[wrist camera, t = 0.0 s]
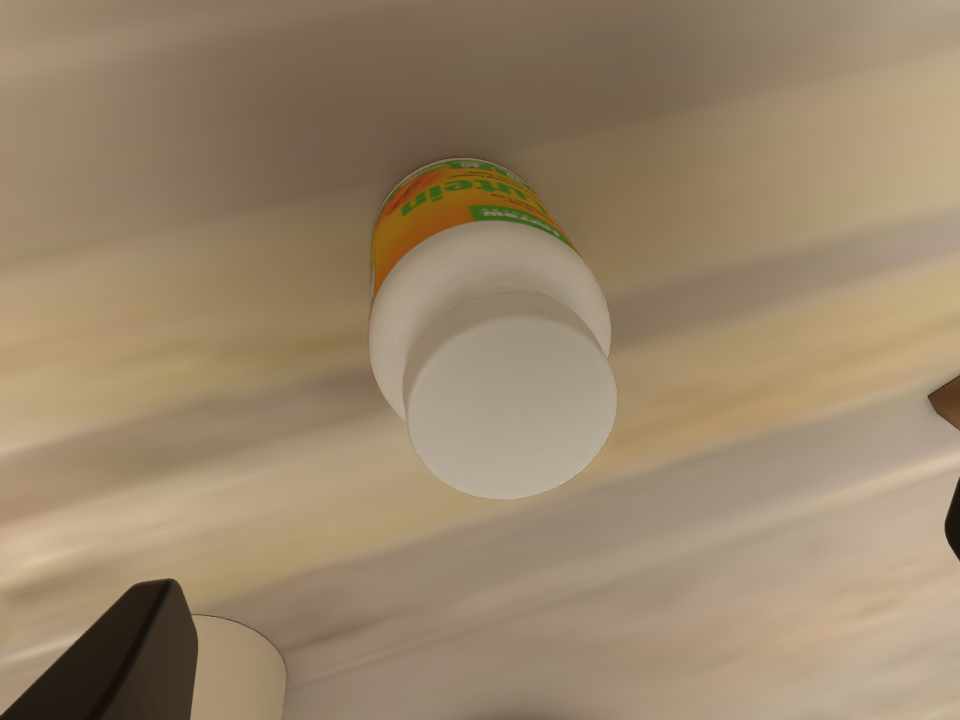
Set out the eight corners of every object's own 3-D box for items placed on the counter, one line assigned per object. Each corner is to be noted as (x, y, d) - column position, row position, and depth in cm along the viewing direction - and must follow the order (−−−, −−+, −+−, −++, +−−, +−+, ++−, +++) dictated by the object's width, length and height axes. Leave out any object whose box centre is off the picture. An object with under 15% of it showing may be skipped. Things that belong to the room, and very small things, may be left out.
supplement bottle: (544, 144, 21) (663, 260, 12) (550, 313, 23) (652, 508, 15) (356, 164, 20) (342, 299, 12) (384, 335, 23) (389, 548, 14)
